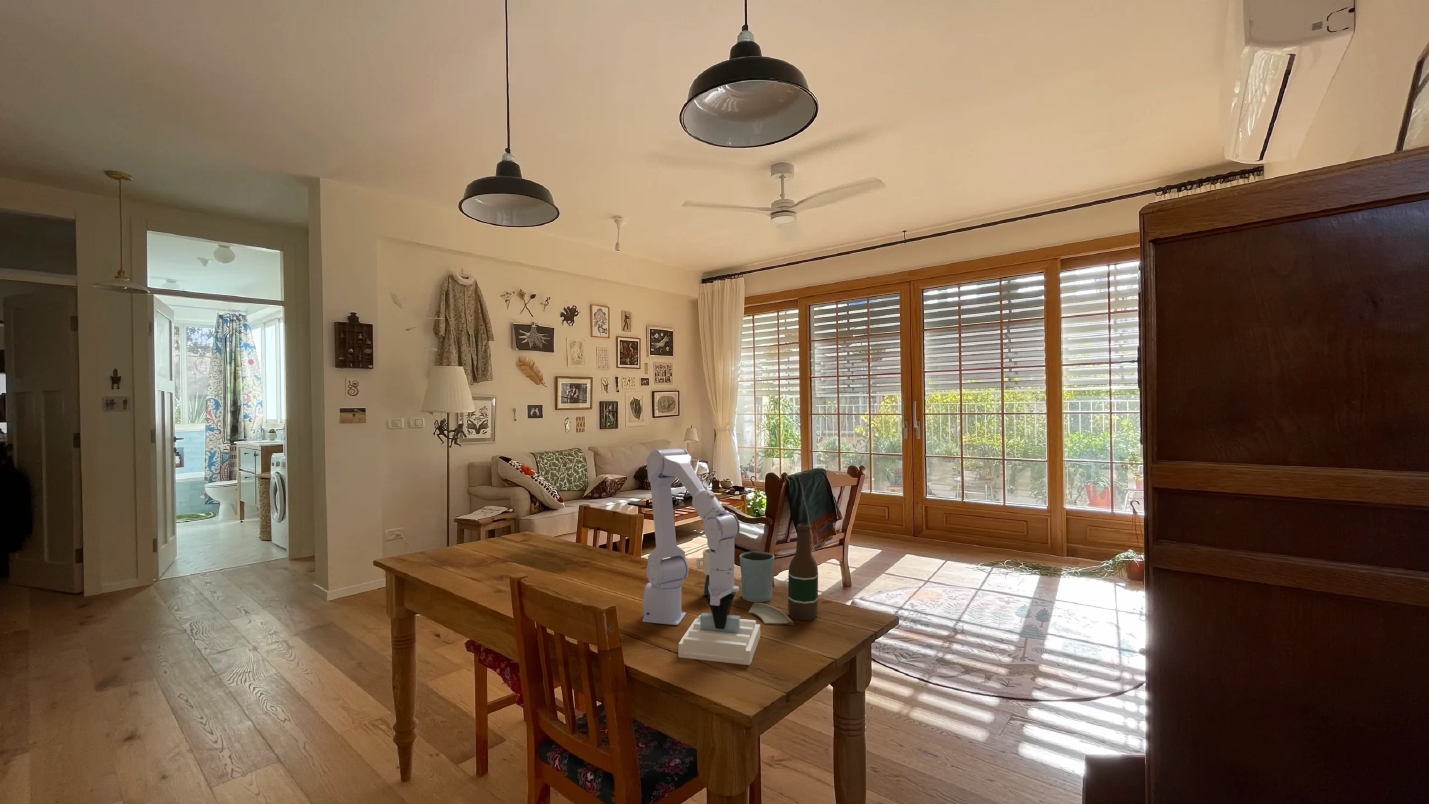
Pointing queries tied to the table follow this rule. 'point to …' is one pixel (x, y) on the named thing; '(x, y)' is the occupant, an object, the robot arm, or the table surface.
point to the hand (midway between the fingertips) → (721, 626)
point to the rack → (721, 643)
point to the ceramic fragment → (770, 614)
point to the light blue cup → (757, 576)
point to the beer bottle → (803, 578)
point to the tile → (730, 626)
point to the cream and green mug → (705, 568)
